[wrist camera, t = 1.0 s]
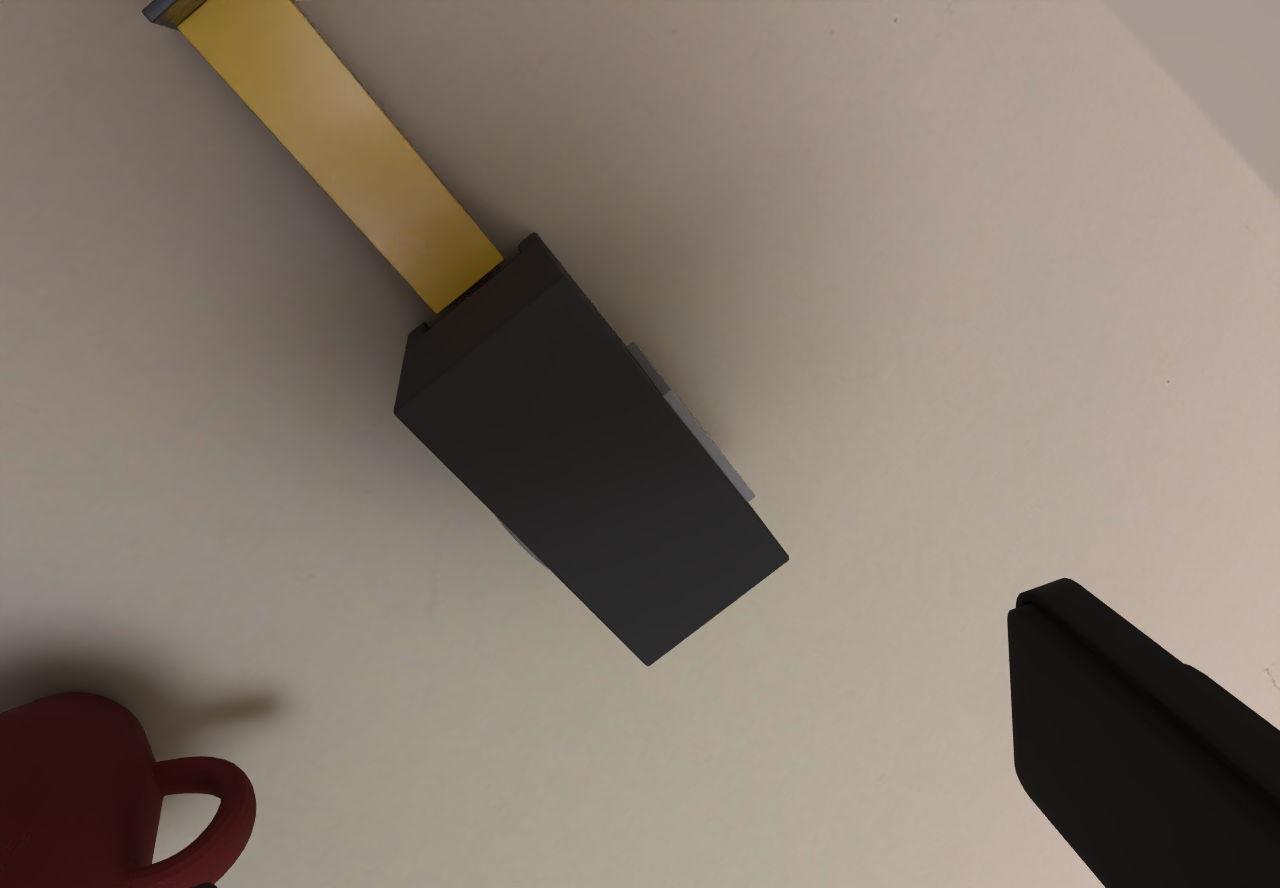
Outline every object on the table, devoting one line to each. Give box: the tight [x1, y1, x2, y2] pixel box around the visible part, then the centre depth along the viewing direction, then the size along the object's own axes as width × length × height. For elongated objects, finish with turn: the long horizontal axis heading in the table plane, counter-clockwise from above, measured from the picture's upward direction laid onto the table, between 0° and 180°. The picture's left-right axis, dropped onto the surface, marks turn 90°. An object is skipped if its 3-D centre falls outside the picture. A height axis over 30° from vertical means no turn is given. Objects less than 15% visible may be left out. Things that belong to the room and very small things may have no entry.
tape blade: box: [142, 0, 504, 314], centre depth 21 cm, size 10×3×2 cm, turn 37°
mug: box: [0, 693, 256, 888], centre depth 23 cm, size 10×8×10 cm
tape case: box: [394, 232, 789, 666], centre depth 23 cm, size 10×6×7 cm, turn 37°
